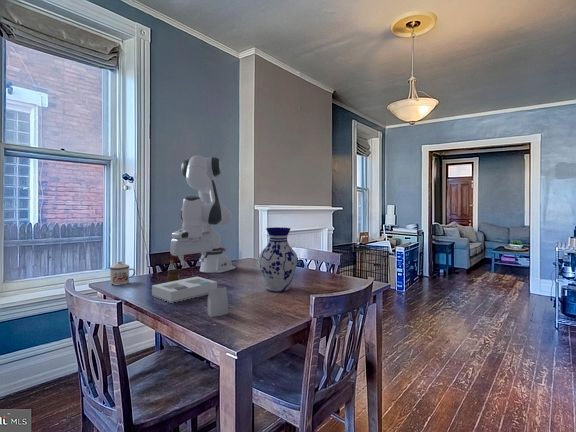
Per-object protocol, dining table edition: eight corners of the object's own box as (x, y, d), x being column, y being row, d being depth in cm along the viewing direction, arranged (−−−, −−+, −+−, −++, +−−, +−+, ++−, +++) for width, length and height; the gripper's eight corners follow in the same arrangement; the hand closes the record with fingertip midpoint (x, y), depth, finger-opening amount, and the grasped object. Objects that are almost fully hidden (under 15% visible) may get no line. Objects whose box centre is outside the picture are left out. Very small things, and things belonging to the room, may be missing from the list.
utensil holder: (169, 285, 172) (169, 262, 171) (165, 283, 177) (165, 260, 176) (181, 284, 175) (180, 261, 175) (177, 281, 180) (176, 259, 180)
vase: (293, 295, 155) (293, 230, 154) (253, 293, 159) (253, 229, 157) (300, 285, 174) (300, 227, 172) (264, 283, 177) (264, 226, 176)
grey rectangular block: (227, 314, 130) (227, 288, 130) (211, 317, 126) (211, 290, 126) (224, 311, 133) (224, 286, 133) (207, 314, 130) (207, 288, 129)
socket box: (197, 286, 171) (197, 275, 171) (217, 292, 160) (217, 281, 160) (151, 296, 153) (151, 284, 152) (170, 303, 142) (170, 291, 142)
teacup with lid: (111, 286, 169) (111, 263, 169) (108, 282, 177) (108, 260, 176) (137, 283, 176) (136, 261, 175) (133, 279, 183) (133, 258, 183)
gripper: (207, 230, 161) (207, 259, 162) (168, 233, 146) (168, 265, 146) (215, 231, 157) (215, 261, 158) (176, 234, 142) (176, 267, 142)
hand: (192, 263), depth 152 cm, fingers open, 8 cm apart
